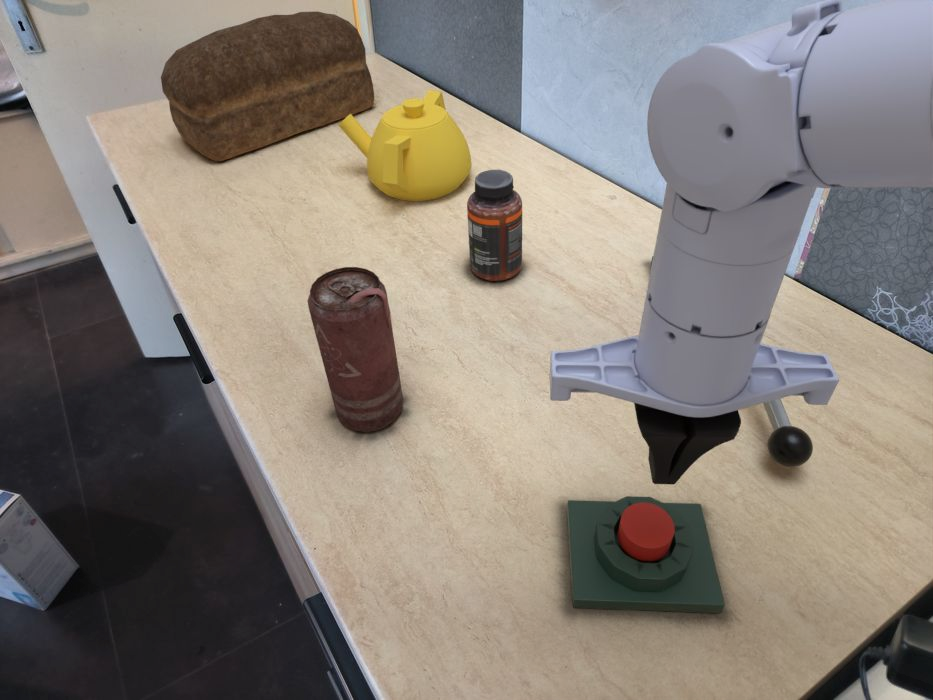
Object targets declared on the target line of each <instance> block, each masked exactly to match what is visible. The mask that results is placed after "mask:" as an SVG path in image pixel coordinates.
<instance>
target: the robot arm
mask: <svg viewBox="0 0 933 700" xmlns="http://www.w3.org/2000/svg"><path fill="white" fill-rule="evenodd" d="M647 109H648V110H647V119H646V120H647V121H646V127H647V128H646V130H647V140H648V145H649V149H650V153H651V155H652V159H653V161H654V164H655V166H656V168H657V169H658V172H659V174H660V175H661V177H662V178H663V180H664V181H665V182H666V185H665V190H664V195H663V196H664V197H663V202H662V207H661V213H660V218H659V223H658V229H657V235H656V240H655V244H654V251H653V255H652V256H653V261H652V260H651V261H652V266H651V265H650V272H649V278H648V283H647V288H646V289H647V290H646V294H645V300H644V305H643V310H642V316H641V322H640V326H639V332H638V334H637V335H633V336H629V337H625V338H619V339H617V340H612V341H608V342H604V343H600V344H596V345H592V346H587V347H583V348H578V349H570V350H569V349H568V350H551V351H550V356H549V357H550V360H549V374H548V376H549V379H548V380H549V399H550V401H554V402H555V401H556V402H557V401H559V402H567V401H569V400H570V399H571V397H572V393H589V394H591V393H592V394H594V393H595V394H600V395H603V396H608V397H611V398H615V399H619V400H622V401H626V402H629V403H633V405H634V409H635V416H636V421H637V425H638V428H639V431H640V434H641V437H642V438H643V440H644V441H645V443H646V445H647V446H648V458H647V459H648V465H649V470H650V476H651V481H652V483H653V484H654V485H676V484H677V483H678V481H679V480H680V479H681V478H682V477H683V475H684V474H685V473H686V472H687V470H689V469H690V467H691V466H692V465H694V463H695V462H696V461H698V460H699V459H700V458H701V457H702V456H703V455H705V454H706V453H708V452H710V451H711V450H713V449H715V448H716V447H718V446H721V445H723V444H725V443H728V442H731V441H734V440H735V439H736V437H737V435H738V433H739V431H740V428H741V424H742V418H741V415H740V412H739V411H740V410H744V409H747V408H750V407H754V406H758V405H762V404H763V403H766V402H769V401H773V400H777V399H784V398H787V397H791V396H794V397H795V396H796V397H798V396H799V397H803V400H804V402H805V403H806V404H808V405H812V406H827V405H828V404H829V402H830V400H831V398H832V396H833V394H834V392H835V390H836V388H837V387H838V384H839V382H840V378H839V375H838V374H837V372H836V371H835V368H834V366H833V364H832V362H831V361H830V358H829V356H828V354H826V353H813V352H803V351H797V350H790V349H785V348H782V347H777V346H774V345H769V344H764V343H762V340H763V338H764V334H765V332H766V329H767V326H768V325H769V320H770V319H771V314H772V310H773V308H774V306H775V303H776V300H777V297H778V294H779V291H780V289H781V287H782V283H783V281H784V277H785V275H786V271H787V269H788V266H789V263H790V261H791V257H792V255H793V252H794V250H795V247H796V245H797V242H798V239H799V236H800V234H801V230H802V226H803V224H804V221H805V218H806V217H807V216H806V215H807V213H808V210H809V207H810V204H811V201H812V199H813V198H814V197H815V196H814V195H815V193H816V190H817V188H818V189H895V188H896V189H897V188H898V189H899V188H900V189H901V188H906V189H907V188H908V189H909V188H910V189H911V188H913V189H914V188H933V0H882V1H878V2H873V3H871V4H869V3H868V4H866V5H861V6H858V7H857V6H856V7H853V8H848V9H844V10H843V2H842V0H821V1H817V2H812V3H810V4H807V5H804V6H800V7H797V8H796V9H795V10H794V11H793V13H792V15H791V20H788V21H785V22H782V23H778V24H776V25H773V26H770V27H767V28H763V29H760V30H757V31H754V32H750V33H747V34H745V35H741V36H738V37H735V38H732V39H729V40H725V41H723V42H709V43H706V44H704V45H702V46H701V47H699V48H698V49H697V50H696V51H694V52H692V53H691V54H689V55H687V56H683V57H682V58H680V59H678V60H677V61H676V62H674V63H672V64H671V65H670V66H669V67H668V68H667V69H666V70H665V72H664V73H663V74H662V75H661V77H660V78H659V80H658V81H657V83H656V85H655V87H654V89H653V92H652V94H651V98H650V101H649V105H648V108H647Z"/></svg>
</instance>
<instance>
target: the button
mask: <svg viewBox="0 0 933 700" xmlns="http://www.w3.org/2000/svg"><path fill="white" fill-rule="evenodd" d="M674 530H675V528H674V523H673V521H672V519H671V517H670V516H669V514H668V513H667V512H666V511H665V510H663V509H662V508H660V507H659V506H656V505H654V504H651V503H636V504H633V505H631V506H629V507H628V508H626V509H625V511H624V512H623V514H622V516H621V520H620V525H619V529H618V540H619V543H620V545H621V547H622V548H623V550H624V551H625V552H626V553H627V554H629V555H630V556H631V557H633V558H635V559H638V560H641V561H656V560H659V559H661V558H662V557H664V556H665V555H666V554H667V552H668V551H669V548H670V545H671V542H672V539H673V536H674Z"/></svg>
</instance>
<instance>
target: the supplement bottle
mask: <svg viewBox="0 0 933 700" xmlns="http://www.w3.org/2000/svg"><path fill="white" fill-rule="evenodd" d="M514 188H515V187H514V177H513V175H512V174H511V173H510V172H508V171H506V170H503V169H487V170H484V171H482V172H479V173H478V174H477V175H476V176H475V177H474V191H473V192H472V193H471V194H470V195H469V197H468V199H467V202H466V211H467V216H466V217H467V231H468V250H469V251H468V253H469V263H470V264H469V266H470V270H471V271H472V273H473V274H474V275H475V276H476V277H478V278H480V279H482V280H486V281H492V282H493V281H495V282H499V281H504V280H509V279H511V278H513V277H514V276H516V275H517V274H519V272H520V270H521V268H522V264H523V200H522V196H521V195H520V194H519V193H518V192H517V191H516V190H514Z"/></svg>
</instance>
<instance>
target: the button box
mask: <svg viewBox="0 0 933 700" xmlns="http://www.w3.org/2000/svg"><path fill="white" fill-rule="evenodd" d="M636 503H651V504H654V505H656V506H659V507H660V508H662V509H663V510H665V511H666V512H667V513H668V514H669V516H670V517H671V519H672V521H673V523H674V528H675V530H674V536H673V539H672V542H671V545H670V548H669V551H668V552H667V554H666V555H665V556H664V557H662V558H661V559H659V560H656V561H641V560H638V559H635V558H633V557H631V556H630V555H629V554H627V553H626V552H625V551H624V550H623V548H622V547H621V545H620V543H619V540H618V529H619V525H620V520H621V516H622V514H623V512H624V511H625V509H626V508H628V507H629V506H631V505H633V504H636ZM702 508H703V507H702V504H701V503H686V502H685V503H683V502H682V503H681V502H662V501H660V500H659V499H658V500H657V499H656V498H653V497H651V496H635V495H633V496H632V495H631V496H629V495H626V496H625V497H622V498H620V499H618V500H616V501H611V500H610V501H608V500H607V501H604V500H575V499H574V500H572V499H569V500H567V503H566V516H567V534H568V535H567V536H568V551H569V563H570V564H569V567H570V583H571V596H572V597H571V598H572V608H574V609H596V610H597V609H599V610H623V611H625V610H626V611H648V612H649V611H651V612H653V611H654V612H676V613H678V612H680V613H703V614H705V613H706V614H722V612H723V610H724V608H725V607H726V604H725V599H724V596H723V591H722V588H721V583H720V580H719V575H718V571H717V567H716V563H715V558H714V554H713V549H712V546H711V541H710V537H709V533H708V528H707V524H706V521H705V516H704V511H703V509H702Z"/></svg>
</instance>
